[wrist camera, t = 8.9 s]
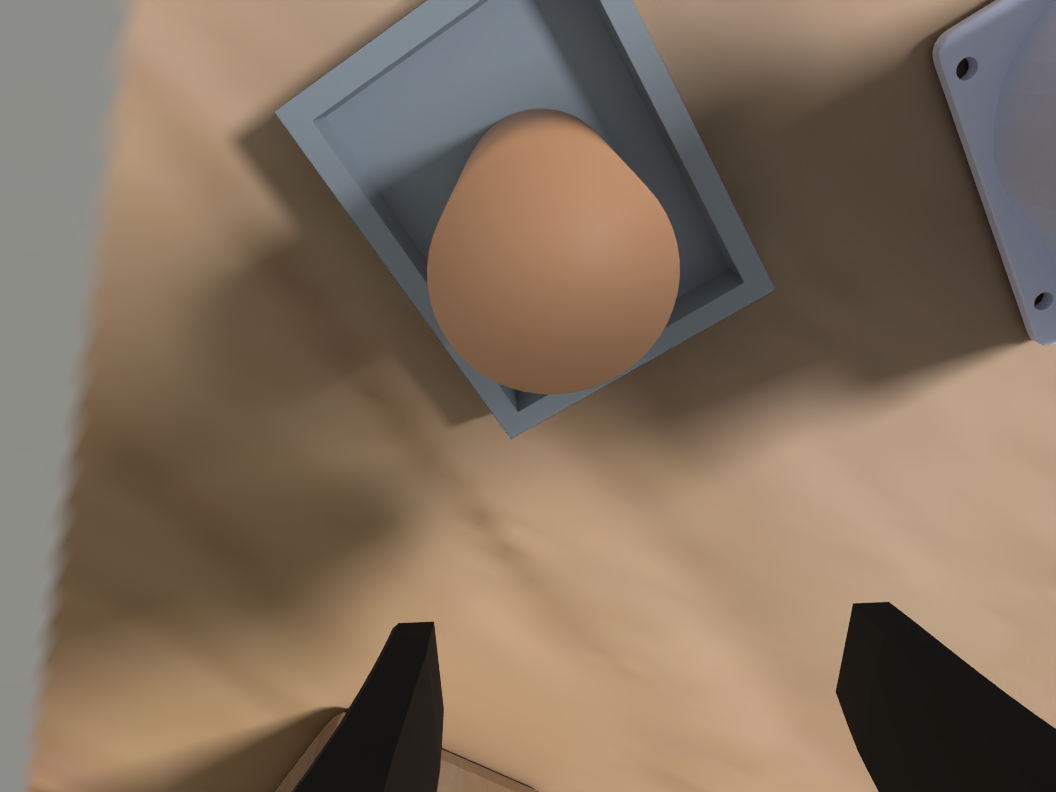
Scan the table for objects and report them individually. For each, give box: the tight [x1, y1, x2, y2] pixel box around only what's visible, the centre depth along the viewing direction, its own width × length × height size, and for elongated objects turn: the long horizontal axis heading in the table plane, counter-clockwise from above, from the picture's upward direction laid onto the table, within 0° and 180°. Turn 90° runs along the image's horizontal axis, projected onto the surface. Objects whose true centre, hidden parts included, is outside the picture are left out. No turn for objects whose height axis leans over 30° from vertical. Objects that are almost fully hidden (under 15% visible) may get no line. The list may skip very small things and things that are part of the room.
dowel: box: [427, 108, 680, 395], centre depth 15 cm, size 4×4×8 cm
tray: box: [275, 0, 775, 439], centre depth 19 cm, size 10×8×2 cm
